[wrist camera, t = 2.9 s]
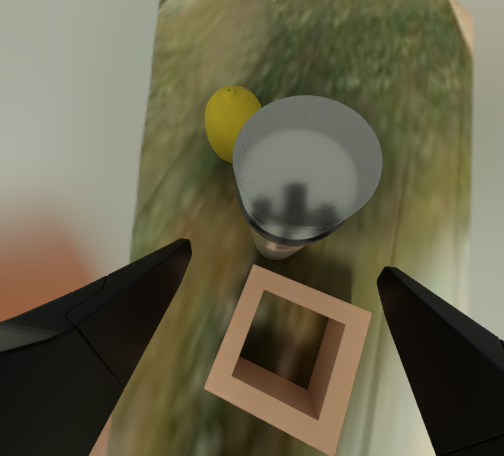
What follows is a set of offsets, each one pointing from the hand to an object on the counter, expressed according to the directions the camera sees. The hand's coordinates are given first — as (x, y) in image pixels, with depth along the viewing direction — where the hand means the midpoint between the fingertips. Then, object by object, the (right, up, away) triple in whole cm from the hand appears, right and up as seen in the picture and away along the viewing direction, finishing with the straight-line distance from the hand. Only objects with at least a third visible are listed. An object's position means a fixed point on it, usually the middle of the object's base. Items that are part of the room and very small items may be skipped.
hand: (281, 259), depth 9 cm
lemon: (-3, +10, +13) cm, 16 cm away
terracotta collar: (+2, -8, +8) cm, 12 cm away
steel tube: (+1, 0, +10) cm, 10 cm away
